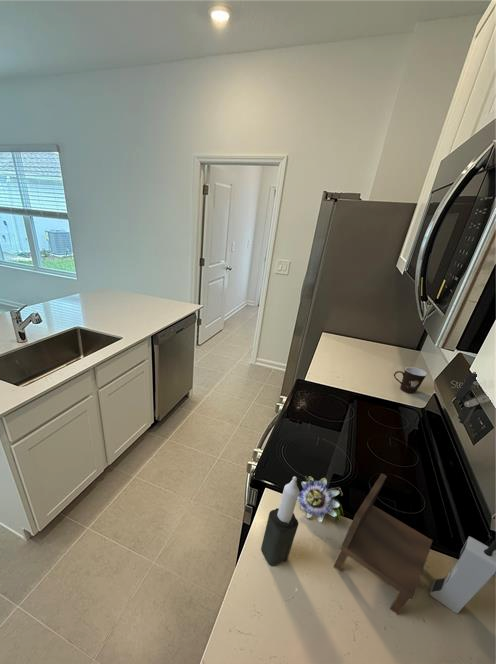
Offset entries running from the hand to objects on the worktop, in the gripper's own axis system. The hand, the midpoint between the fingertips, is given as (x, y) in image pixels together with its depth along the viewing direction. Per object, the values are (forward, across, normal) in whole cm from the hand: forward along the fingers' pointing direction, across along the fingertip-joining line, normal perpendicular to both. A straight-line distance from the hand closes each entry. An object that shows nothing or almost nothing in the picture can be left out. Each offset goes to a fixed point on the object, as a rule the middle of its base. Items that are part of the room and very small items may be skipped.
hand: (488, 434), depth 59 cm
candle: (+34, +16, +33) cm, 50 cm away
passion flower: (+34, +20, +14) cm, 42 cm away
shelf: (+34, +2, +14) cm, 37 cm away
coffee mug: (+35, +44, -76) cm, 95 cm away
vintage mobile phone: (+35, -10, +8) cm, 37 cm away
